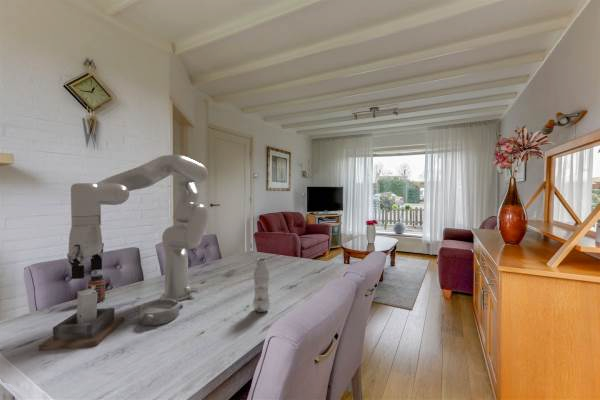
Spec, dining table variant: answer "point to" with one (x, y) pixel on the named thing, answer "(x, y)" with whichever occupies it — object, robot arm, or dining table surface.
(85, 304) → the skincare box
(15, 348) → the dining table surface
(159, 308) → the dish
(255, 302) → the plastic bottle
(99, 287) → the supplement bottle
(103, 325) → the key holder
